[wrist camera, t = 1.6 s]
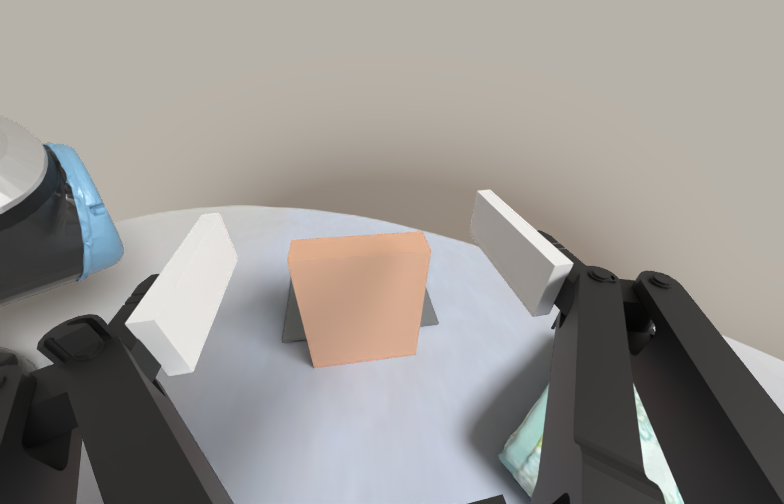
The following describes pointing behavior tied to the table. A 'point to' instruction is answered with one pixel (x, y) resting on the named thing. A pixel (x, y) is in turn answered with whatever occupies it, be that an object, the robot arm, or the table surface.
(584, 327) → the robot arm
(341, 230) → the table surface
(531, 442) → the towel
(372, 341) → the terracotta slab
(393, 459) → the table surface
